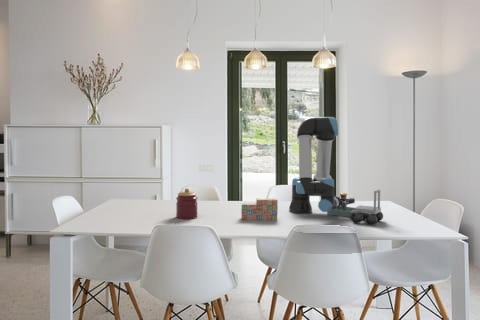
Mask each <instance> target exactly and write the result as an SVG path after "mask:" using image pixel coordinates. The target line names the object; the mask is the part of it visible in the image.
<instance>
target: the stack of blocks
mask: <svg viewBox="0 0 480 320" xmlns="http://www.w3.org/2000/svg"><path fill="white" fill-rule="evenodd" d="M278 208H279V206H278V198H268V197H267V198H263V197H262V198H256V202H253V203H252V202H241V212H240V213H241V220H242V221H278V210H279V209H278Z"/></svg>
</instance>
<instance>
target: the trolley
mask: <svg viewBox="0 0 480 320" xmlns="http://www.w3.org/2000/svg"><path fill="white" fill-rule="evenodd" d="M381 210H382V207H381V189H377V190H374V192H373V206H371V205H370V206H369V205H361V204H360V205H358V206H356V207H354V212H356V213H354V214H352V216H351V218H350V219H351V221H352V222H353V223H355V224H360V223H361V222H363V220H365V223H366V224H367V225H369V226H374V225H375V224H377V222H380V221H382V220H383V219H384V214H383V212H382V211H381Z"/></svg>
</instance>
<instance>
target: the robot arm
mask: <svg viewBox="0 0 480 320" xmlns="http://www.w3.org/2000/svg"><path fill="white" fill-rule="evenodd" d="M338 135H339V125H338V120H337V118H336V117H334V116H309V117H307V118H306V119H304V120H303V121H302V122H301V123H300V125H299V127H298V128H297V134H296V139H297V140H298V167H299V168H298V170H299V171H298V173H299V175H298V177H294V178H292V181H291V182H292V183H291V202H290V205H289V208H288V211H289V212H290V213H294V214H310V213H312V212H313V207H312V204H311V201H310V199H311V198H310V197H320V201H318V206H317V207H318V209H319V211H321V212H323V213H327V212H329V211H332V210H333V209H336V208H339V207H340V206H341V204H346V205H352V204H355V197H354V196H352V197H349V198H346V199H341V196H340V195H335V179H333V178H332V176H331V175H330V173H331V172H330V171H331V158H332V146H333V142H334V140H336V137H337V136H338ZM314 137H315V139H316V140H317V154H316V155H317V156H316V168H315V169H316V171H315V174H314V175H313V165H312V164H313V163H312V159H313V158H312V156H313V155H312V140H313V139H314Z"/></svg>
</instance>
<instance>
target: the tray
mask: <svg viewBox="0 0 480 320" xmlns="http://www.w3.org/2000/svg"><path fill="white" fill-rule="evenodd" d="M354 208H355V207H352V206H347V211H344V210H341V206H340V207H339V208H336V209H333V210H332V211H329V212H326V214H327V215H331V216H339V217H346V218H350V213H351V212H354Z"/></svg>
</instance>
